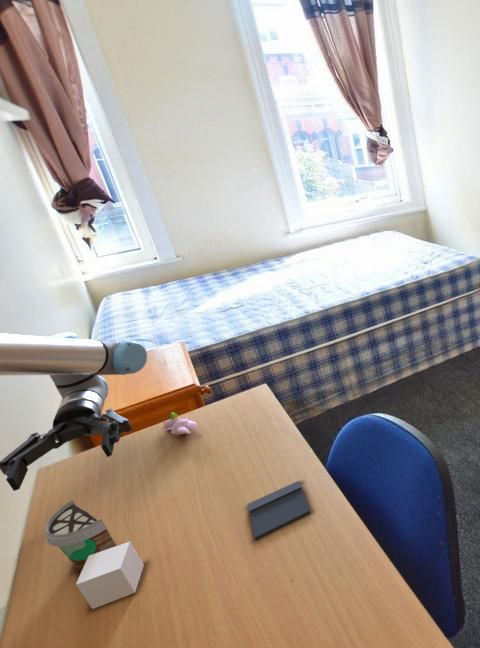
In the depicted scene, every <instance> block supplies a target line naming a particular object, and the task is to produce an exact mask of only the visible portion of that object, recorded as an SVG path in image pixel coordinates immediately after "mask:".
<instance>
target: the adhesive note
mask: <svg viewBox="0 0 480 648" xmlns="http://www.w3.org/2000/svg"><path fill="white" fill-rule="evenodd" d="M144 566H145V564H144V562H143V560H142V559H141V557H140V555H139V554H138V551H137V550H136V548H135V547H134V545H133V543H132V541H131V540H129V541H126V542H124V543H121V544H117V545H116V546H115V547H112V548H109V549H107V550H104V551H101V552H98V553H95V554H92V555H90V556H88V559H87V561H86V563H85V565H84V567H83V570H82V571H80V574H79V576H78V578H77V581H76V583H75V587H77V589H78V591H79V592H80V593H81V595H82V596H83V598H84V600H85V601H86V602H87V604H88V605H89V607H90V609H92V610H95V609H96V608H99V607H102V606H104V605H106V604H107V605H108V604H109V603H112V602H115V601H117V600H120V599H122V598H125V597H128V596H130V595H133V594H136V593H137V592H136V591H137V588H138V585H139V582H140V579H141V575H142V572H143V569H144Z"/></svg>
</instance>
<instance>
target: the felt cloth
mask: <svg viewBox="0 0 480 648" xmlns="http://www.w3.org/2000/svg"><path fill="white" fill-rule="evenodd" d="M305 496H306V495H305V494H304V490H303V488H302V485H301V483H300V480H298V481H295V482H293V483H291V484H287V485H286V486H284V487H281V488H279V489H277V490H276V491H273V492H271V493H268V494H266V495H264V496H261V497H260V498H257V499H255V500H253V501H250V502H249V503H247V511H248V513H249V516H250V522H251V527H252V533H253V537H254V540H256V541H257V540H259V539H260V538H263V537H265V536H266V535H268V534H270V533H273V532H275V531H277V530H279V529H281V528H283V527H285V526H287V525H289V524H291V523H293V522H295V521H297V520H299V519H301V518H303V517H306V516H307V515H309V514H311V510H310V507H309V504H308V501H307V498H306V497H305Z"/></svg>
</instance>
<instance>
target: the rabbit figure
mask: <svg viewBox="0 0 480 648" xmlns="http://www.w3.org/2000/svg"><path fill="white" fill-rule="evenodd" d="M189 419H190V417H189V416H186V418H180V416H179V415H178V414H177V413H175V412H173V411H172V412H170V419H168V420H167V421H165V420H162V422H163V427H164V428H163V429H162V432H167V431H170V434H171V435H184V434H186V435H189V434H191V431H197V429H198V425H197V422H196V421H192V420H189Z"/></svg>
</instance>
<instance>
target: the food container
mask: <svg viewBox="0 0 480 648" xmlns="http://www.w3.org/2000/svg"><path fill="white" fill-rule="evenodd" d="M44 534H45V538H46V542H47V544H49V545H50V546H53V547H58V548H59V549H60V550H61V552H62V553H63V554H64V555H65V556H66V557H67V559H68V560H69V561H70V562H71V563H72V564H73V565H74V566H75V568H76V569H77V570H78V571H79V572H82V570H83V567H84V565H85V563H86V561H87V559H88V556H90V555H92V554H95V553H98V552H101V551H104V550H107V549H109V548H112V547H115V546H117V545H116V543H115V541H114V539H113V538H112V536H111V534H110V532H109V530H108V527H107V525H106V524H105V522H104V521H103V520H102V518H100V519H97V518H96V517H94V516H93V515H91V514H90V513H89V512H88V511H85V510H84V509H82V508H81V507H79V506H78V505H76V503H75V502H74V500H73V499H71V500H70V501H68V502H66V503H65V504H63V505H62V506H61V507H60V508H58V509H57V510H56V511H55V512H54V513H53V514H52V515H51V516H50V517H49V519H48V520H47V522H46V524H45V529H44Z"/></svg>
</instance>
